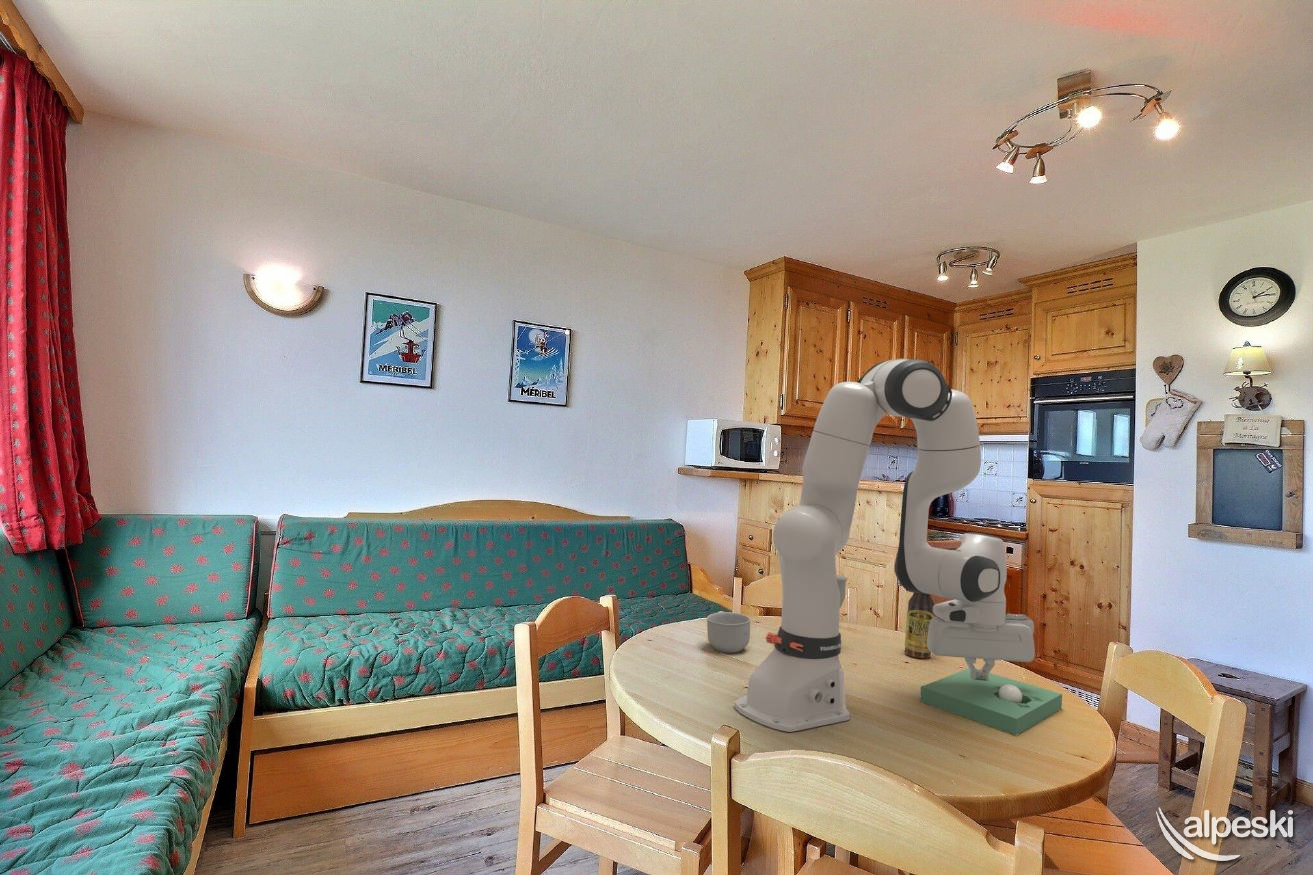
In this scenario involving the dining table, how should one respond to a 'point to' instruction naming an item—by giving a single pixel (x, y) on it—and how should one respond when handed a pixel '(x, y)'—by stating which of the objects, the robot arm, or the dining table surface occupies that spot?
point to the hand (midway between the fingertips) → (979, 679)
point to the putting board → (991, 701)
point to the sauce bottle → (918, 625)
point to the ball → (1010, 693)
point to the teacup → (728, 631)
